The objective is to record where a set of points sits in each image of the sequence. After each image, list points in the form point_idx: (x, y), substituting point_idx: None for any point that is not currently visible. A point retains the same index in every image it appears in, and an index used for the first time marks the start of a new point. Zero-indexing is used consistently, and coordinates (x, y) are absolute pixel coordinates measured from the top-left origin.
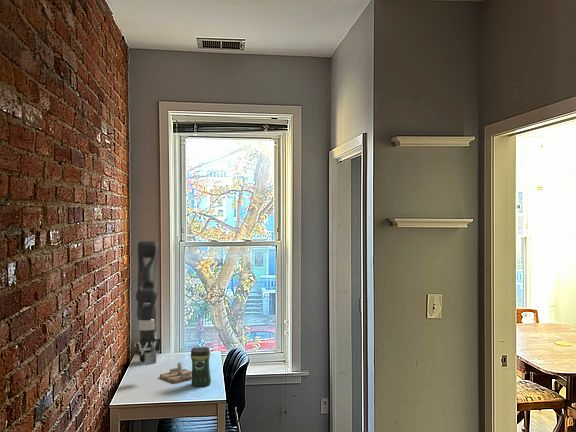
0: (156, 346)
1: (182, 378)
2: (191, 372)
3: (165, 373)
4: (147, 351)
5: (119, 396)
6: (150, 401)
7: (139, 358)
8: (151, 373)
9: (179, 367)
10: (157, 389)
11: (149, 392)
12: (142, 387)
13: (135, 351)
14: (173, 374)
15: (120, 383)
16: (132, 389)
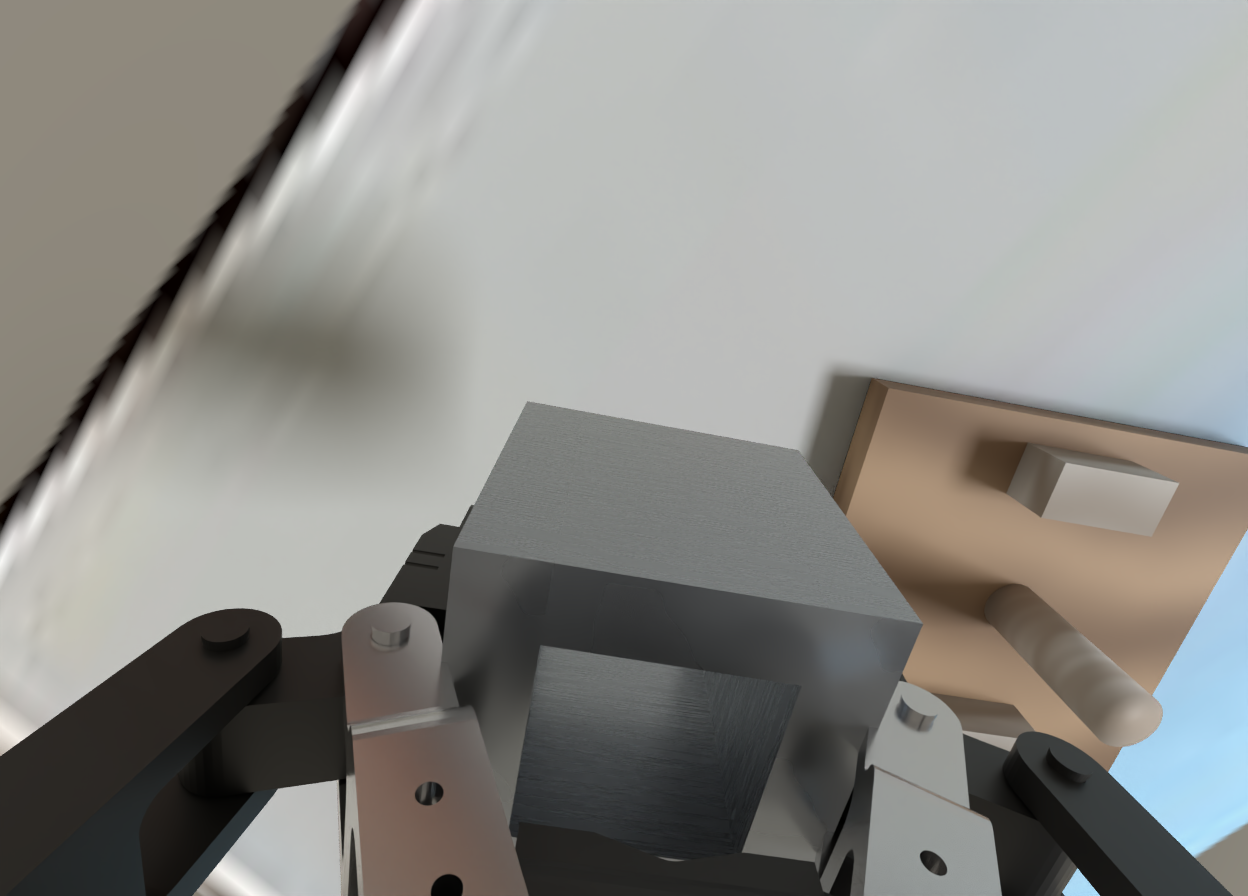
0: (1124, 882)
1: None
2: (1150, 653)
3: (977, 411)
4: (732, 650)
5: (78, 567)
6: (255, 883)
7: (403, 566)
8: (998, 72)
9: (1055, 691)
10: None
11: None
12: (450, 522)
13: (111, 699)
14: (983, 537)
15: (343, 100)
16: (320, 486)
